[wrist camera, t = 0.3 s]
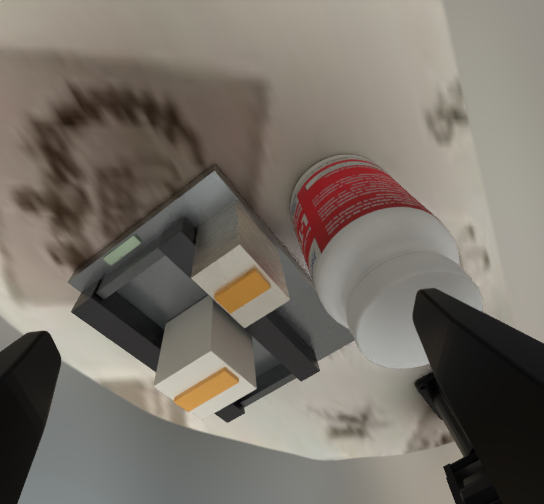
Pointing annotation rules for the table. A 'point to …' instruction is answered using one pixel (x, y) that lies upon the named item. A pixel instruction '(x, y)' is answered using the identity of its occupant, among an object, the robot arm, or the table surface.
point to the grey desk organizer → (209, 285)
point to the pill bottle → (374, 255)
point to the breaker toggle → (205, 360)
